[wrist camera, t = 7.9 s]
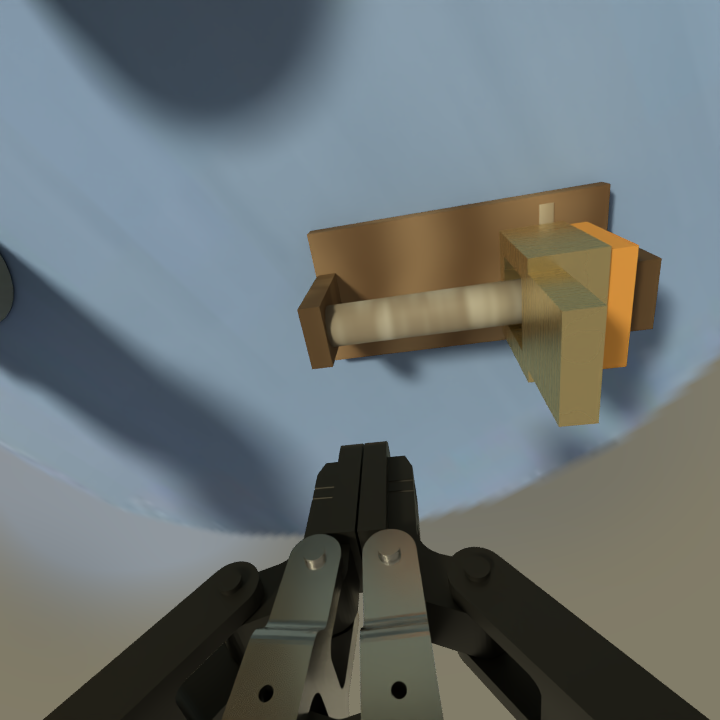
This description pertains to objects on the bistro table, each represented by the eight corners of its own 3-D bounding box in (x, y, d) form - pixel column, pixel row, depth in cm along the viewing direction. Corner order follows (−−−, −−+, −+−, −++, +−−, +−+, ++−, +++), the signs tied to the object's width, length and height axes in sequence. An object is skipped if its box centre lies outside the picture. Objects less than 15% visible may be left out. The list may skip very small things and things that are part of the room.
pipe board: (337, 352, 33) (320, 409, 26) (310, 231, 29) (282, 260, 22) (593, 321, 30) (648, 374, 23) (601, 181, 26) (671, 198, 19)
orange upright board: (561, 323, 27) (600, 369, 22) (564, 225, 25) (609, 249, 19) (581, 321, 27) (626, 366, 22) (586, 221, 24) (639, 245, 19)
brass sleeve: (502, 332, 28) (558, 440, 18) (499, 230, 25) (563, 292, 15) (560, 325, 27) (650, 432, 17) (563, 220, 25) (672, 278, 15)
